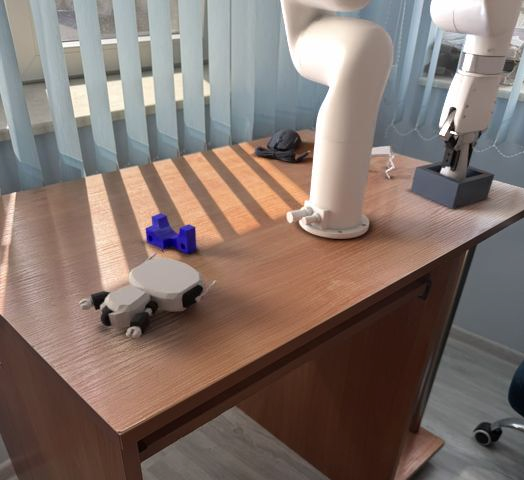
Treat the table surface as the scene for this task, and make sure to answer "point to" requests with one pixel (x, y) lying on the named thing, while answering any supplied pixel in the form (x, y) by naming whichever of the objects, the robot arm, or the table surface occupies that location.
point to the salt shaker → (460, 158)
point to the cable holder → (170, 235)
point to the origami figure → (384, 155)
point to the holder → (451, 185)
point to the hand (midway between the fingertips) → (454, 167)
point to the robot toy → (149, 294)
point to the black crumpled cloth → (282, 146)
